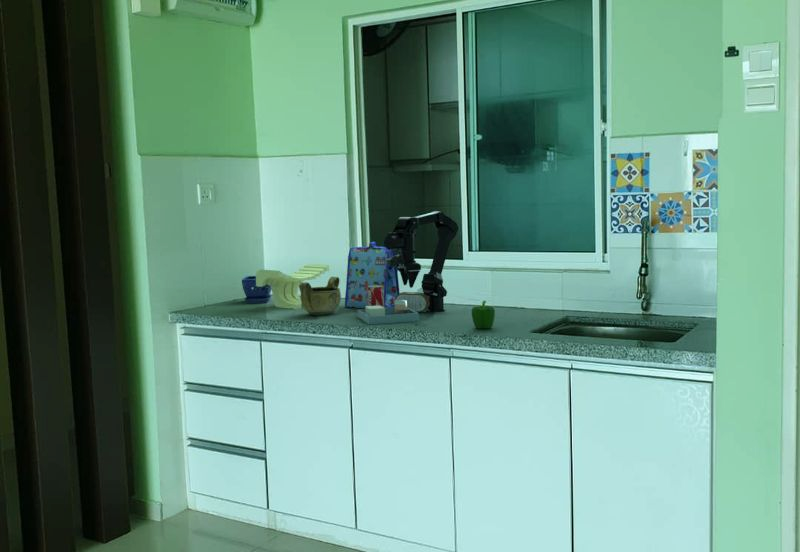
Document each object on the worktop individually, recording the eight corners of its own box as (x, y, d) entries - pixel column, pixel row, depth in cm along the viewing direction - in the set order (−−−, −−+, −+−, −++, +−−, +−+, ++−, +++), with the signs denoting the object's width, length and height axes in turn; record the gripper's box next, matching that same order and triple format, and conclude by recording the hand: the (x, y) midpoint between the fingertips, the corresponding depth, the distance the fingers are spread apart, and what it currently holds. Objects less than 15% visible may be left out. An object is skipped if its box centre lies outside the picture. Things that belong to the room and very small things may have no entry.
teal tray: (405, 314, 340) (404, 306, 339) (418, 322, 320) (418, 313, 320) (357, 318, 334) (357, 309, 334) (368, 325, 315) (368, 316, 315)
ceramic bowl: (323, 309, 361) (322, 275, 359) (353, 312, 351) (352, 277, 349) (288, 317, 343) (286, 281, 341) (319, 319, 333) (318, 282, 331)
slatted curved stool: (306, 300, 392) (305, 263, 390) (330, 303, 382) (328, 264, 380) (257, 308, 370) (255, 269, 368) (280, 311, 359) (278, 270, 357)
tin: (430, 312, 346) (429, 292, 345) (427, 313, 343) (427, 293, 342) (396, 311, 352) (396, 291, 351) (393, 312, 349) (393, 292, 348)
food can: (405, 316, 332) (405, 299, 331) (409, 318, 327) (408, 300, 326) (392, 317, 331) (392, 300, 330) (396, 319, 326) (395, 301, 325)
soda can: (382, 316, 338) (381, 287, 337) (365, 316, 340) (364, 287, 339) (385, 313, 345) (385, 284, 344) (369, 313, 347) (368, 285, 345)
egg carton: (380, 317, 331) (379, 305, 330) (385, 320, 323) (384, 308, 322) (365, 318, 329) (365, 306, 329) (370, 321, 321) (369, 309, 321)
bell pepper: (486, 330, 297) (486, 303, 296) (468, 328, 302) (467, 301, 301) (499, 327, 303) (499, 300, 302) (481, 325, 309) (480, 299, 308)
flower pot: (270, 303, 387) (269, 278, 385) (242, 304, 387) (241, 278, 385) (274, 299, 400) (273, 275, 399) (246, 300, 400) (245, 275, 398)
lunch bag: (401, 306, 366) (399, 241, 362) (384, 310, 354) (382, 243, 351) (361, 303, 377) (359, 240, 374) (343, 307, 366) (341, 242, 363)
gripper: (382, 247, 342) (383, 285, 344) (393, 250, 324) (394, 290, 326) (408, 246, 345) (409, 283, 346) (420, 249, 327) (421, 288, 328)
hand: (408, 286), depth 337 cm, fingers open, 9 cm apart
